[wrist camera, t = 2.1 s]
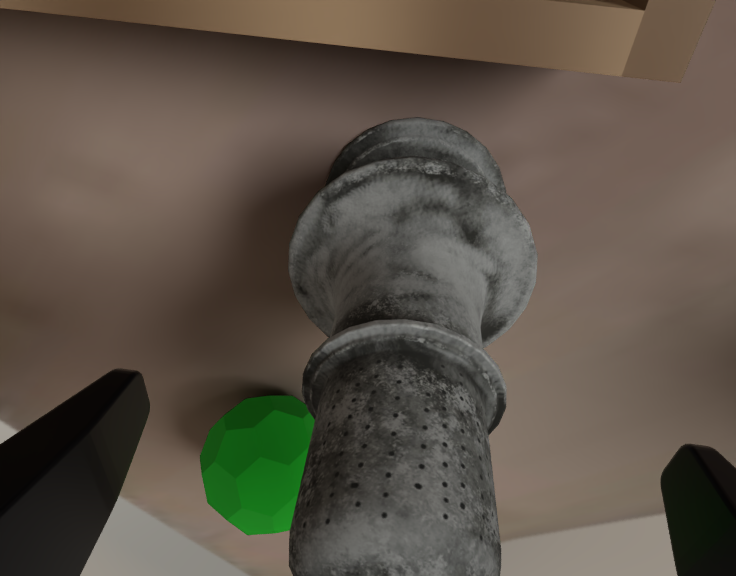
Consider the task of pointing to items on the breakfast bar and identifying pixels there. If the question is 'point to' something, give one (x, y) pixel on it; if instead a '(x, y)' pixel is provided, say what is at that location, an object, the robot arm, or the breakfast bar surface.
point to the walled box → (445, 27)
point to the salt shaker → (406, 353)
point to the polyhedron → (257, 462)
